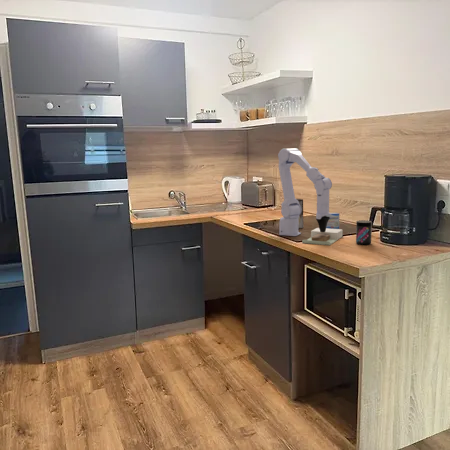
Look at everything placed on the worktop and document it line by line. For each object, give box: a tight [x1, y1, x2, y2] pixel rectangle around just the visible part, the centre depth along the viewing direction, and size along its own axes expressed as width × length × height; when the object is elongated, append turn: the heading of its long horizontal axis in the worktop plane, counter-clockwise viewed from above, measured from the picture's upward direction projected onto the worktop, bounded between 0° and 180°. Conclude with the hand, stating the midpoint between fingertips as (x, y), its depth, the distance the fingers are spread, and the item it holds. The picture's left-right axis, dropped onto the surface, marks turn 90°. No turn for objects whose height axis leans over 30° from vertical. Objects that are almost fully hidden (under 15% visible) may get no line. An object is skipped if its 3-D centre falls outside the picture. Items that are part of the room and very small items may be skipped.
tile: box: [312, 234, 330, 242], centre depth 199 cm, size 6×9×2 cm, turn 150°
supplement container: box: [355, 219, 373, 246], centre depth 190 cm, size 7×7×10 cm
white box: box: [310, 227, 343, 241], centre depth 207 cm, size 13×10×4 cm
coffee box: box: [290, 198, 304, 229], centre depth 234 cm, size 9×6×16 cm
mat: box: [301, 236, 338, 246], centre depth 198 cm, size 13×12×2 cm
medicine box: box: [326, 212, 340, 229], centre depth 228 cm, size 8×4×9 cm, turn 101°
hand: (322, 231), depth 201 cm, fingers closed
